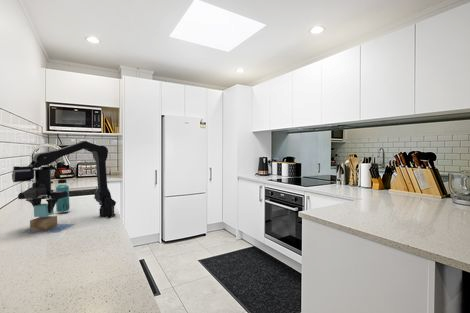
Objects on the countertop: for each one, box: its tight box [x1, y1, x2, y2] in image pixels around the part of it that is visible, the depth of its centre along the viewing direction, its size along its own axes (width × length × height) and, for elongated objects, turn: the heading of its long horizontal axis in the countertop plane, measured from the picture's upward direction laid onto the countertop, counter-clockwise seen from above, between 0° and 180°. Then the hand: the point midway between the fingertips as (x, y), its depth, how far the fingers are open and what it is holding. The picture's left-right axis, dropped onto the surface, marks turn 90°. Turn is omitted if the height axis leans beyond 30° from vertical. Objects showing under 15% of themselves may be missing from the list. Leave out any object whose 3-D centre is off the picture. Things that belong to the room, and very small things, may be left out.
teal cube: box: [33, 203, 54, 218], centre depth 109 cm, size 5×5×5 cm
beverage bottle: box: [55, 178, 70, 213], centre depth 139 cm, size 6×7×20 cm
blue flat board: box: [21, 223, 76, 234], centre depth 110 cm, size 16×12×1 cm
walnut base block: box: [29, 215, 58, 231], centre depth 109 cm, size 7×7×5 cm
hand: (44, 213), depth 109 cm, fingers closed on teal cube, 5 cm apart
